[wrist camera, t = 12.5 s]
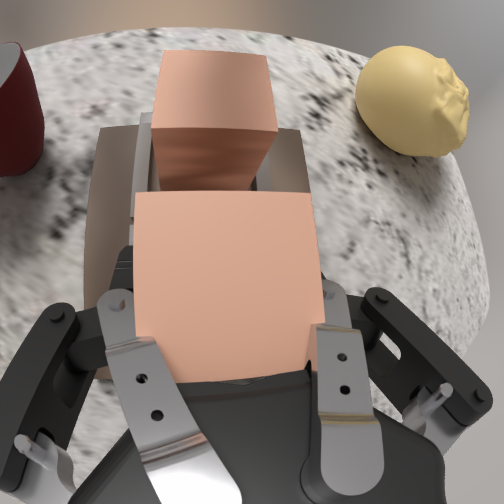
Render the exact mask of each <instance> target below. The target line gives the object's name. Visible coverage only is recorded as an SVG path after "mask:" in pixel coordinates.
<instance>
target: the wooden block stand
mask: <svg viewBox="0 0 504 504" xmlns="http://www.w3.org/2000/svg"><path fill="white" fill-rule="evenodd" d="M162 191H270V192H297V193H311V192H310V186H309V179H308V173H307V167H306V161H305V155H304V150H303V144H302V139H301V133H300V130H293V129H284V128H278V126H277V119H276V113H275V106H274V100H273V94H272V88H271V82H270V76H269V70H268V65H267V59H266V56H264V55H256V54H247V53H237V52H224V51H204V50H164V52H163V57H162V62H161V67H160V72H159V78H158V83H157V89H156V95H155V101H154V108H153V112H147V113H141V117H140V124H139V125H129V126H116V127H105V128H100V133H99V138H98V142H97V147H96V153H95V158H94V164H93V170H92V177H91V183H90V191H89V199H88V208H87V219H86V231H85V248H84V310H86V309H90V308H93V307H95V306H97V302H98V299H99V298H100V297H101V296H102V295H103V294H104V293H106V292H107V291H109V288H110V284H111V280H112V276H113V273H114V269H115V265H116V262H117V259H118V255H119V252H120V251H121V250H122V249H123V248H124V247H125V246H127V245H133V236H134V210H135V194H136V192H162ZM311 200H312V199H311ZM312 207H313V206H312ZM313 214H314V213H313ZM314 221H315V220H314ZM94 379H110V380H113V379H112V376H111V372H110V369H109V366H105V367H102V368H98V369H97V372H96V374H95V376H94Z"/></svg>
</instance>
